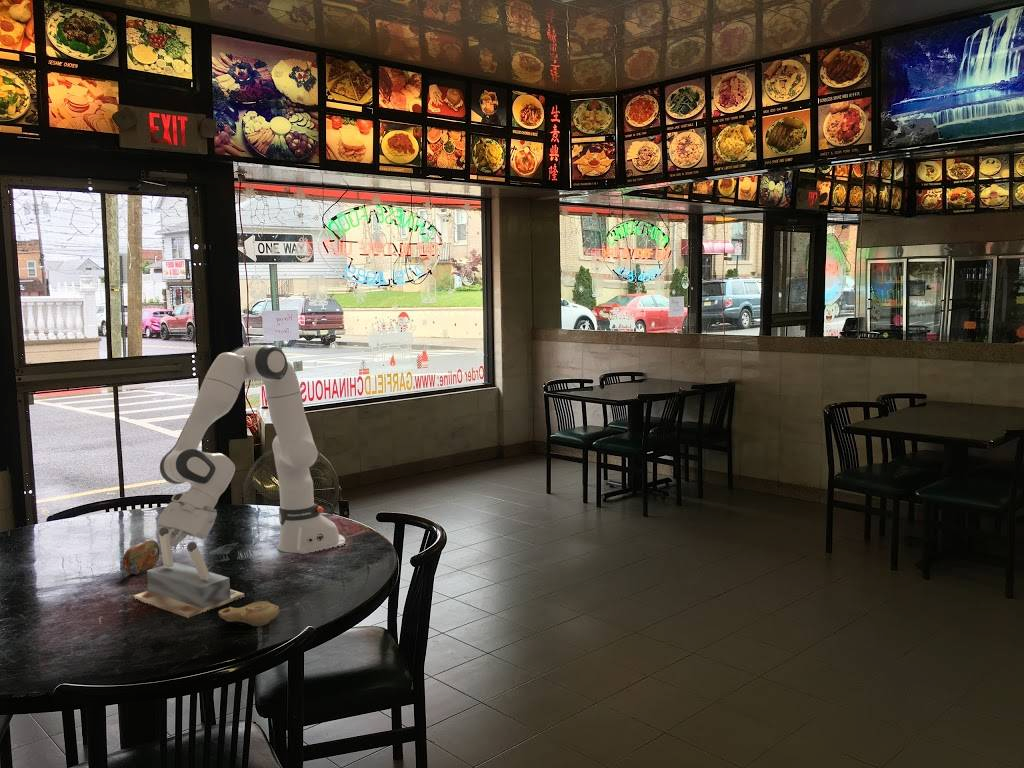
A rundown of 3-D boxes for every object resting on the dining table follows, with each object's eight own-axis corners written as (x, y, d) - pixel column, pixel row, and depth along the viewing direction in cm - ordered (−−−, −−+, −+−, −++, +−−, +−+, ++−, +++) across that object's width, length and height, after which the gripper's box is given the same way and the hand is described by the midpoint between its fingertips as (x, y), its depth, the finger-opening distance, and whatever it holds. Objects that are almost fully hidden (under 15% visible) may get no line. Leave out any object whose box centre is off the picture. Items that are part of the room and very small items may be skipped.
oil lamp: (217, 623, 218) (216, 605, 218) (271, 611, 226) (270, 593, 225) (227, 637, 209) (226, 618, 209) (283, 624, 217) (282, 605, 216)
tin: (131, 578, 255) (129, 551, 254) (122, 577, 255) (120, 551, 254) (161, 562, 269) (159, 537, 268) (152, 561, 270) (150, 536, 269)
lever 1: (169, 563, 243) (164, 525, 241) (175, 565, 241) (170, 526, 239) (161, 566, 241) (156, 528, 239) (167, 568, 239) (162, 529, 237)
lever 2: (206, 573, 232) (190, 539, 228) (212, 575, 231) (197, 541, 226) (198, 579, 231) (183, 544, 226) (205, 581, 229) (189, 546, 224)
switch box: (190, 579, 252) (188, 557, 251) (244, 596, 237) (242, 573, 236) (133, 598, 237) (132, 575, 236) (187, 617, 222) (186, 592, 221)
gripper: (226, 515, 244) (199, 557, 237) (184, 504, 255) (158, 543, 249) (212, 504, 239) (184, 547, 233) (170, 493, 251) (143, 533, 244)
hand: (170, 545), depth 241 cm, fingers closed, pressing on lever 1
